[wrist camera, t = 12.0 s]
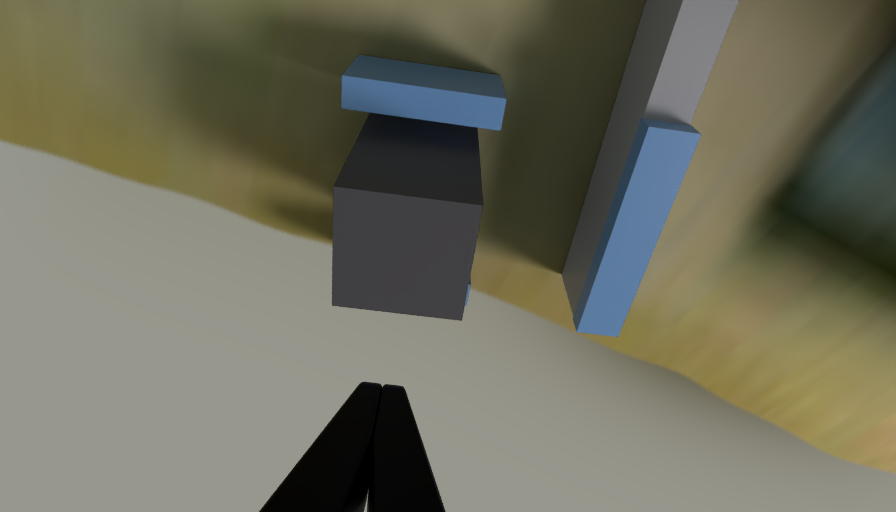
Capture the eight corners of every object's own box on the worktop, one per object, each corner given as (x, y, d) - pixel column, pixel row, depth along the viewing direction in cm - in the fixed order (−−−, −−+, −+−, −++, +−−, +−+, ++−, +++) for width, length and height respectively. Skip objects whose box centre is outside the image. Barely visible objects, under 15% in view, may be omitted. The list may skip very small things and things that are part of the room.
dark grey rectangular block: (477, 126, 19) (483, 205, 14) (461, 220, 21) (461, 320, 16) (370, 112, 19) (333, 186, 14) (365, 208, 21) (331, 305, 16)
